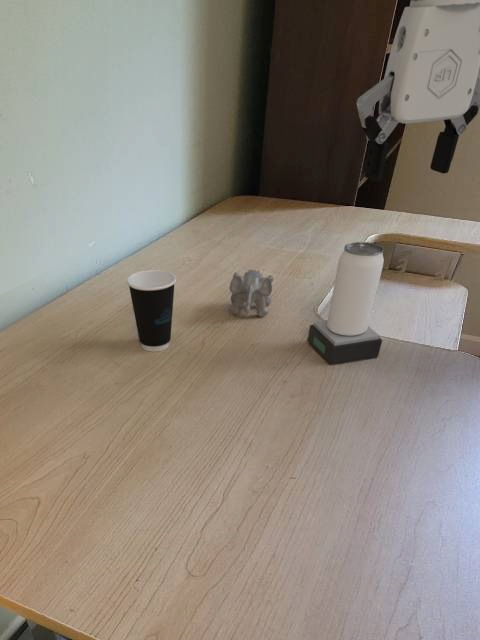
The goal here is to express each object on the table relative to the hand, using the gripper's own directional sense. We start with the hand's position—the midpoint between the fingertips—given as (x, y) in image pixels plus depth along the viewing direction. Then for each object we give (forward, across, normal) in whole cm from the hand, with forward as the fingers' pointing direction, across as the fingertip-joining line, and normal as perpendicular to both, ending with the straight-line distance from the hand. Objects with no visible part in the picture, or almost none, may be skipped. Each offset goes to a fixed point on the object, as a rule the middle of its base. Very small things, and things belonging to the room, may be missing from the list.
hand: (406, 175), depth 68 cm
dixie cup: (+24, -33, +13) cm, 43 cm away
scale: (+25, -3, +2) cm, 25 cm away
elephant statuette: (+24, -13, +19) cm, 34 cm away
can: (+21, -3, +2) cm, 21 cm away
